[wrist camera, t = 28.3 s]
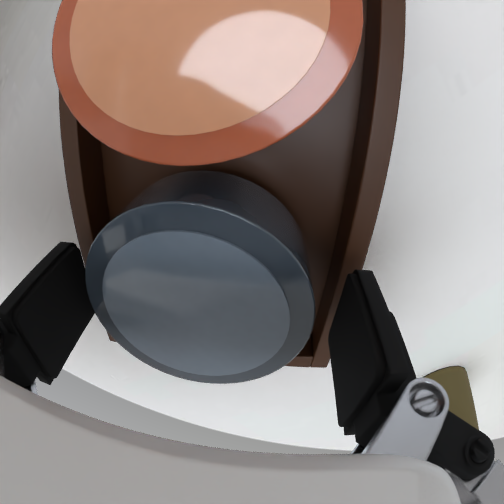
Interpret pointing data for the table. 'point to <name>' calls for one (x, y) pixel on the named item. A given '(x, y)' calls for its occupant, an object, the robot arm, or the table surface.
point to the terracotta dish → (201, 72)
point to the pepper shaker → (457, 392)
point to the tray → (283, 170)
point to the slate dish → (204, 279)
